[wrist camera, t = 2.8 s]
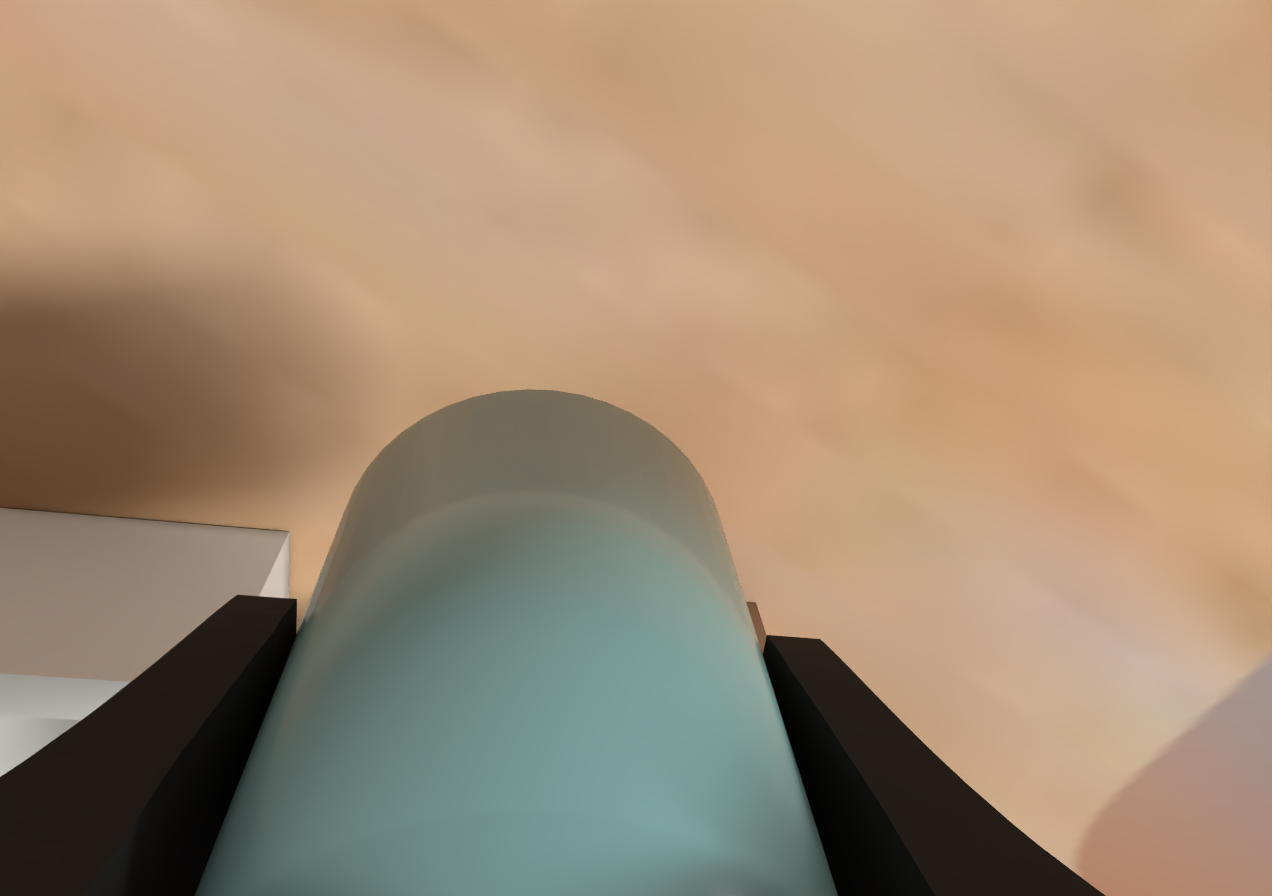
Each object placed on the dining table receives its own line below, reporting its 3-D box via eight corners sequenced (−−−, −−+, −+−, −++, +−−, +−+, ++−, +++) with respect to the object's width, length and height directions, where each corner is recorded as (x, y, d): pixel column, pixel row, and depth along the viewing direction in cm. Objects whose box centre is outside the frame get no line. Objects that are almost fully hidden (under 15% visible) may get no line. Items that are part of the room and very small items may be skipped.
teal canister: (692, 735, 15) (798, 1303, 8) (332, 712, 14) (155, 1306, 8) (756, 411, 13) (957, 833, 6) (342, 368, 12) (114, 788, 6)
